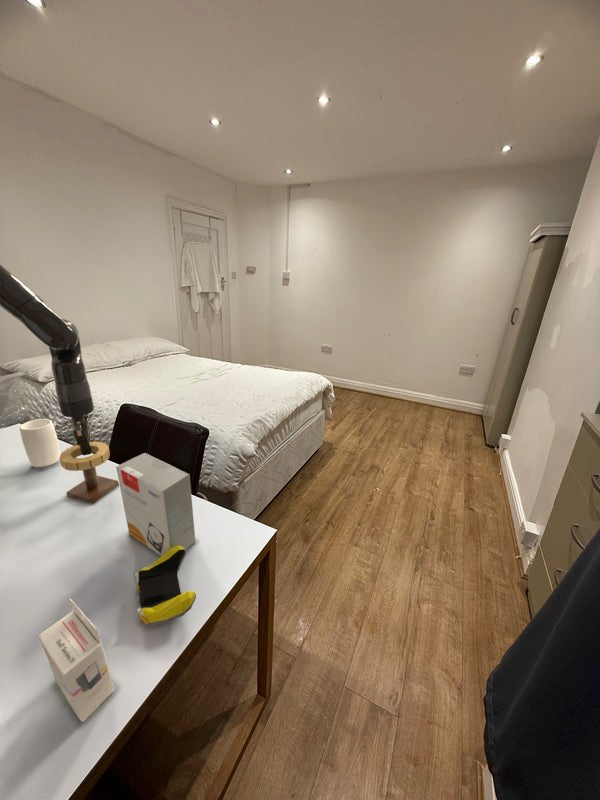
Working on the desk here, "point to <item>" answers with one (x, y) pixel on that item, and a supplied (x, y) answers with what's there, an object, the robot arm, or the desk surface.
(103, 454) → the ring
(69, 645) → the ink box
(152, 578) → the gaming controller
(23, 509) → the desk surface
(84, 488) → the stand
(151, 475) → the hard drive box
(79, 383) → the robot arm
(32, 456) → the cup
